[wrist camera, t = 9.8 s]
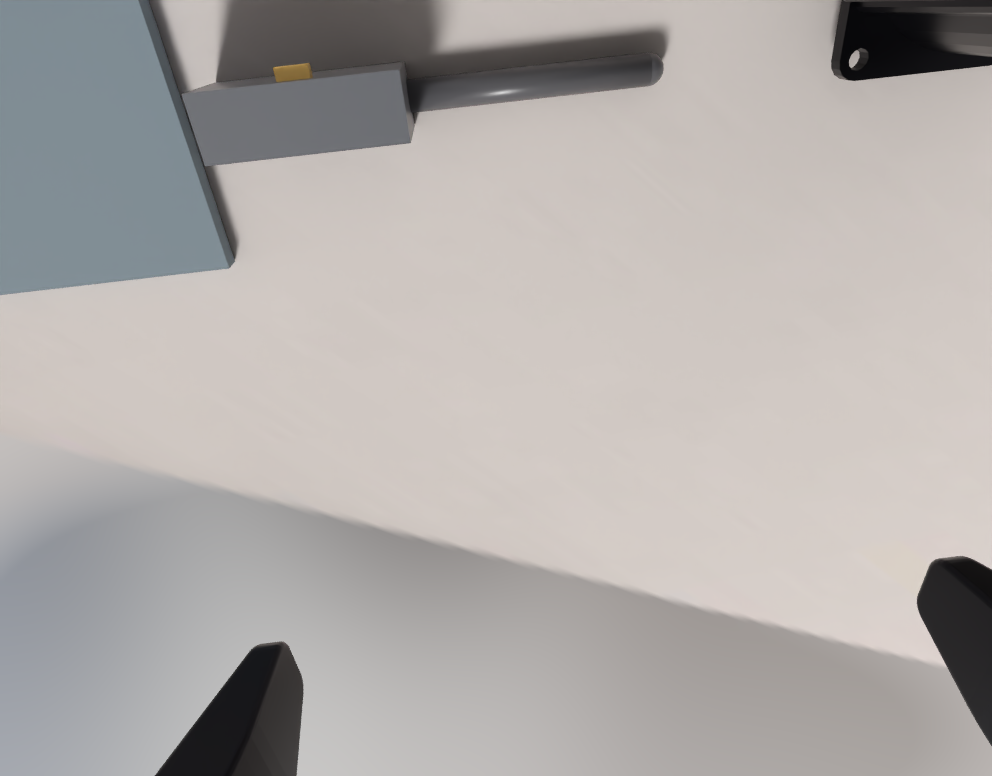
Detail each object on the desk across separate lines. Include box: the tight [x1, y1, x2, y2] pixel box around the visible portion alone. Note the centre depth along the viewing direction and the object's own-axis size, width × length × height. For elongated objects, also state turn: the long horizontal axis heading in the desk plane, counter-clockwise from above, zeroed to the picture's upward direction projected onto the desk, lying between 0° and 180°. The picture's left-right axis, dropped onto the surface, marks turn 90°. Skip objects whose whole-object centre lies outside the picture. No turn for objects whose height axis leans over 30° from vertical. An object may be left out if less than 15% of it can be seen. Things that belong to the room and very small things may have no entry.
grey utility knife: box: [181, 53, 663, 166], centre depth 16 cm, size 12×2×2 cm, turn 95°
